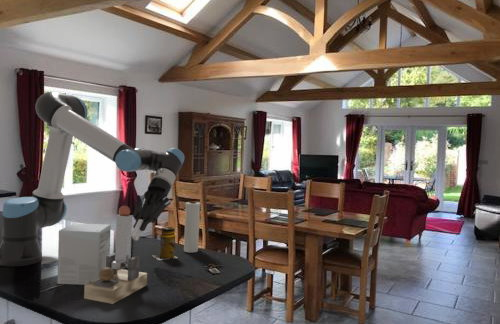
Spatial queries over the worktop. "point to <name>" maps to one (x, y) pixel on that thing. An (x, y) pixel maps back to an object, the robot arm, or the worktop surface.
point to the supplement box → (82, 252)
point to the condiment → (167, 244)
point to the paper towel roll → (191, 227)
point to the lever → (123, 238)
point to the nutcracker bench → (116, 282)
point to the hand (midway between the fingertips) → (134, 237)
